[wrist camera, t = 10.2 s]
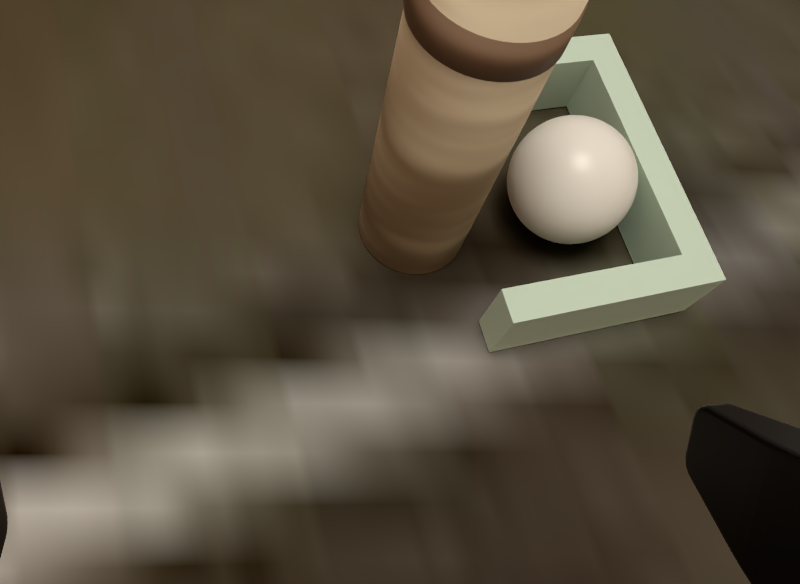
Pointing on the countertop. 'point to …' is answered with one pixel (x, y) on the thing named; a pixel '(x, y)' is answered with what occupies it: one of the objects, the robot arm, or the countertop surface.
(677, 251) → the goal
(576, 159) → the ball
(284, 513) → the countertop surface
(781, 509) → the robot arm
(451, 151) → the player peg
